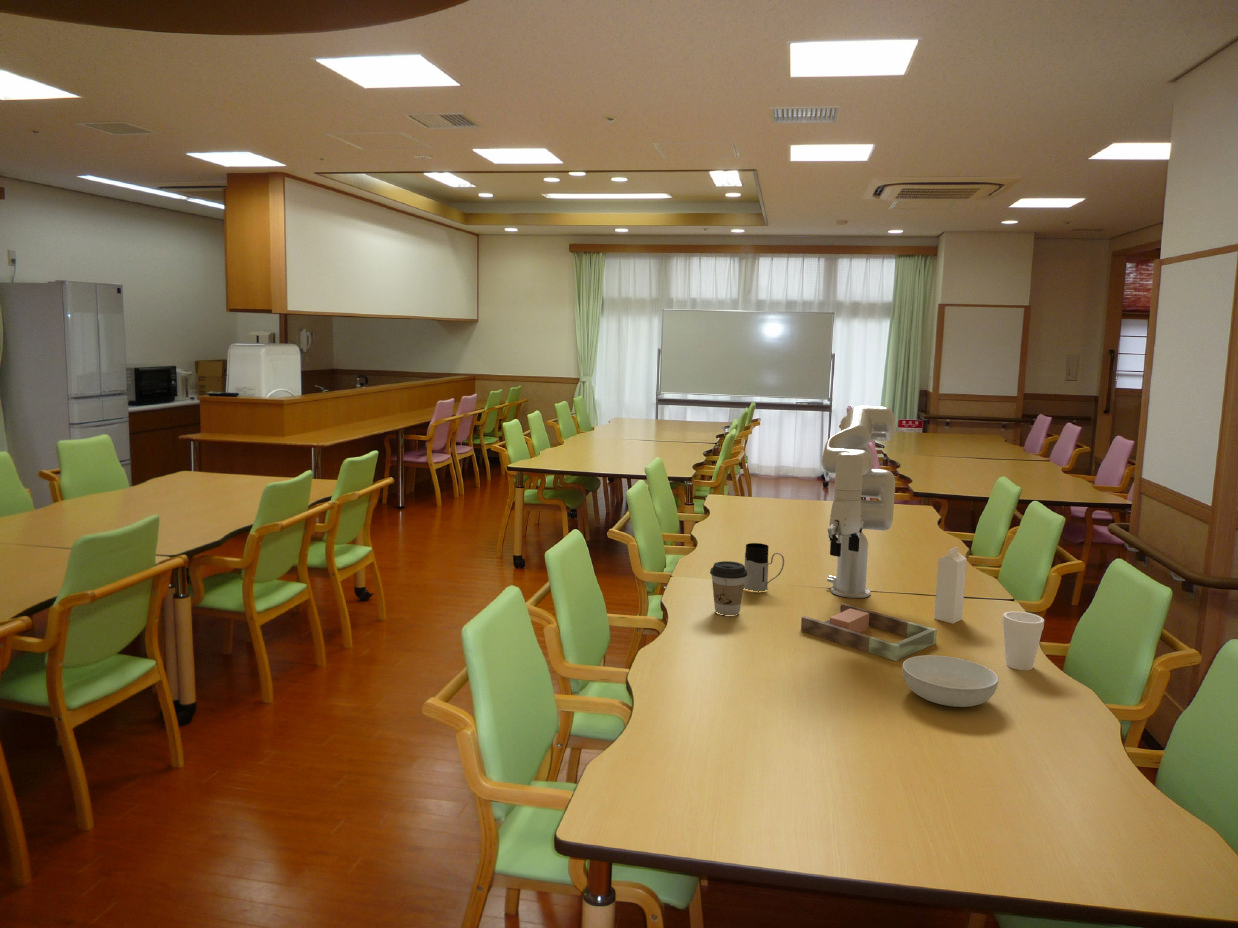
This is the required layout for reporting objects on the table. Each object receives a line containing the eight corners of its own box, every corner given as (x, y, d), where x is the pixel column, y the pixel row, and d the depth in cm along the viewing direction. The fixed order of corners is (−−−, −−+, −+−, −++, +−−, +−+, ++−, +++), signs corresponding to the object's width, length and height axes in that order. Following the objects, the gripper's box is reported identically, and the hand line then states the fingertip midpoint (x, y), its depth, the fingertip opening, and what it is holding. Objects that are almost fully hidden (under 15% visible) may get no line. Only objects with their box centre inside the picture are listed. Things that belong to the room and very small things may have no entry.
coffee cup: (704, 615, 249) (705, 567, 247) (714, 605, 260) (715, 558, 257) (741, 620, 245) (742, 571, 243) (749, 609, 255) (751, 562, 253)
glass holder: (749, 583, 283) (751, 541, 281) (788, 591, 275) (790, 547, 273) (737, 589, 276) (739, 546, 274) (776, 597, 268) (778, 552, 266)
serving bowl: (1009, 698, 193) (1011, 670, 192) (976, 727, 178) (979, 697, 177) (922, 673, 207) (924, 647, 206) (885, 698, 192) (886, 670, 191)
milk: (962, 619, 249) (968, 548, 246) (952, 624, 245) (959, 551, 242) (942, 614, 254) (948, 544, 251) (933, 618, 250) (939, 547, 247)
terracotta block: (828, 634, 235) (829, 617, 235) (849, 624, 244) (850, 608, 243) (848, 639, 231) (849, 622, 231) (868, 629, 240) (869, 613, 239)
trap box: (800, 630, 237) (801, 617, 237) (842, 615, 251) (843, 603, 251) (895, 661, 215) (896, 646, 215) (935, 643, 229) (936, 629, 228)
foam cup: (1039, 662, 216) (1043, 614, 214) (1040, 675, 207) (1045, 625, 206) (999, 656, 220) (1003, 609, 218) (998, 668, 211) (1003, 619, 210)
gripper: (852, 490, 246) (849, 546, 249) (819, 496, 235) (816, 555, 237) (875, 494, 241) (871, 551, 243) (842, 500, 229) (839, 560, 231)
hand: (844, 553), depth 240 cm, fingers open, 9 cm apart
